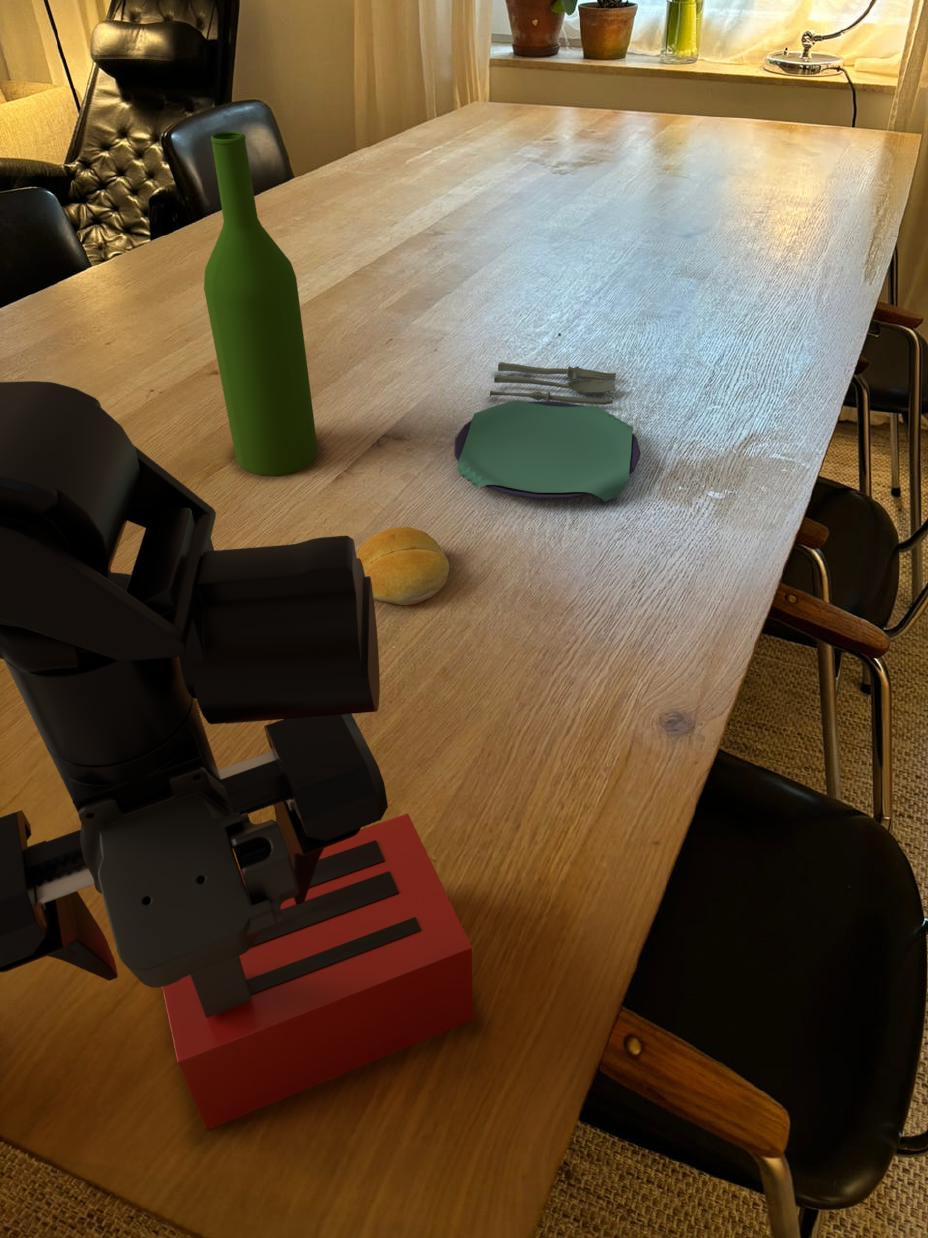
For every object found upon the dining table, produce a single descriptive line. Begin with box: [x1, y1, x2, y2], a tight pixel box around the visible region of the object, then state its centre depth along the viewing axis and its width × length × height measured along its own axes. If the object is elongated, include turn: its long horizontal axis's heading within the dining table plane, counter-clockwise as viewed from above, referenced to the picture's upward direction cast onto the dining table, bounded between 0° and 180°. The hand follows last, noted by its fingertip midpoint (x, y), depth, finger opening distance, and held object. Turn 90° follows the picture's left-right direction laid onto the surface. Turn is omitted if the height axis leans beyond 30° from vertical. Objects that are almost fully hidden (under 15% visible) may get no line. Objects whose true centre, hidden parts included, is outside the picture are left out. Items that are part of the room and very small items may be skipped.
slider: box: [190, 956, 251, 1018], centre depth 50 cm, size 2×2×4 cm
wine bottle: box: [203, 130, 318, 477], centre depth 98 cm, size 9×9×32 cm
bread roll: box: [356, 526, 450, 606], centre depth 90 cm, size 8×9×4 cm
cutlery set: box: [454, 361, 642, 503], centre depth 110 cm, size 20×30×2 cm, turn 170°
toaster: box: [161, 813, 474, 1131], centre depth 58 cm, size 16×10×8 cm, turn 113°
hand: (207, 933), depth 49 cm, fingers open, 9 cm apart
